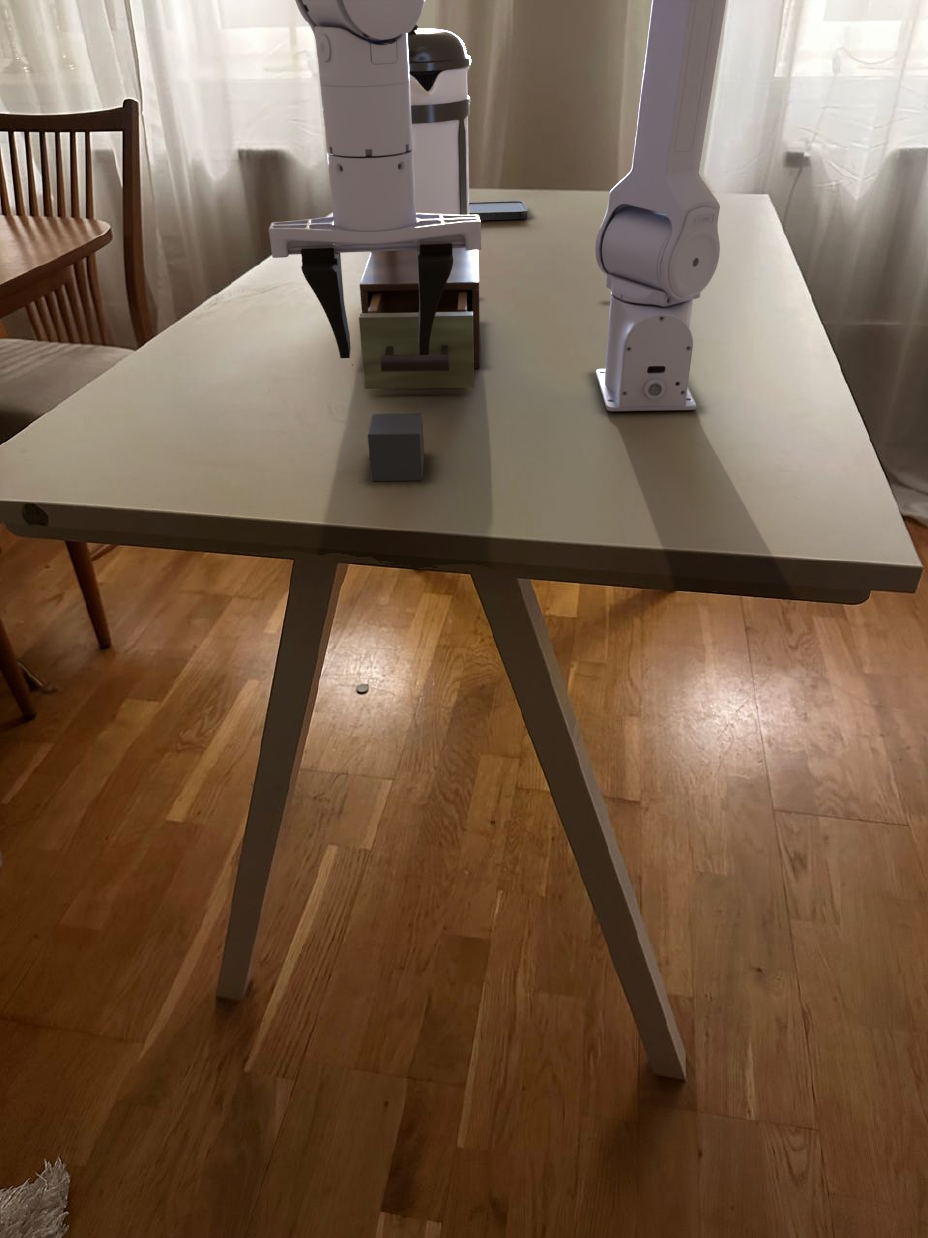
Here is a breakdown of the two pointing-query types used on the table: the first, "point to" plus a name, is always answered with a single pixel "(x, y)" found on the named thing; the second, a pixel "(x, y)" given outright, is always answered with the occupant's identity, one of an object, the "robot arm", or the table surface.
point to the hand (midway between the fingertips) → (384, 352)
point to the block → (396, 447)
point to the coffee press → (439, 121)
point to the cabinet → (403, 276)
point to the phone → (499, 210)
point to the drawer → (417, 342)
